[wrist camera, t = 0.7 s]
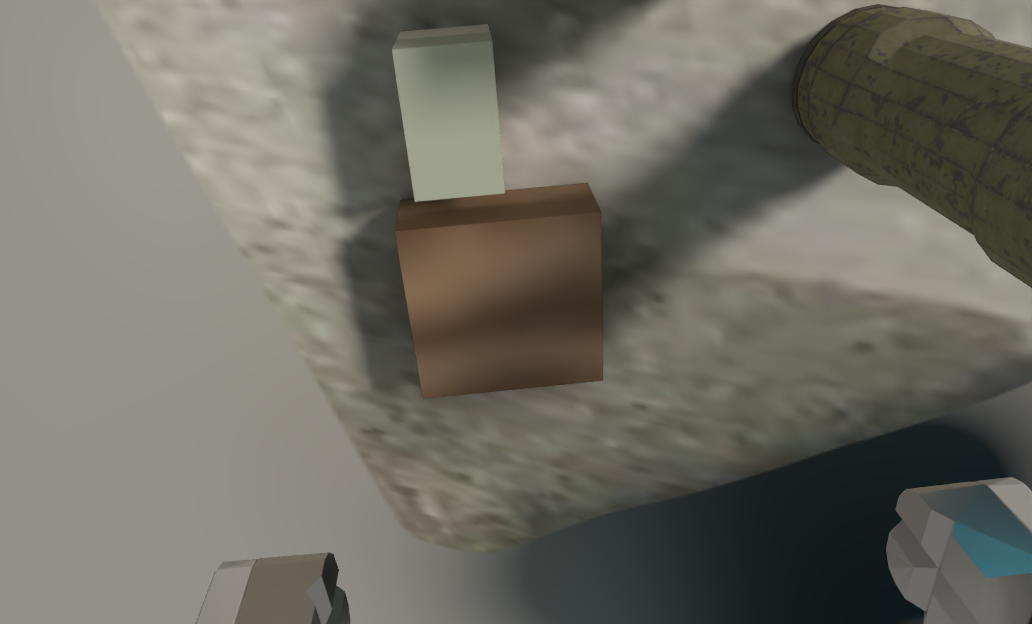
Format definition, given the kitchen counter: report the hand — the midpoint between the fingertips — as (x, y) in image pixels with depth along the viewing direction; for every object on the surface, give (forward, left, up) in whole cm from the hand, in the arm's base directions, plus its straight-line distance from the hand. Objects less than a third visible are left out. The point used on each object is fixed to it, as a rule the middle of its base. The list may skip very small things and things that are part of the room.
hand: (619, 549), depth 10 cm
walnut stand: (+14, -1, -36) cm, 39 cm away
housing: (+2, -3, -36) cm, 36 cm away
